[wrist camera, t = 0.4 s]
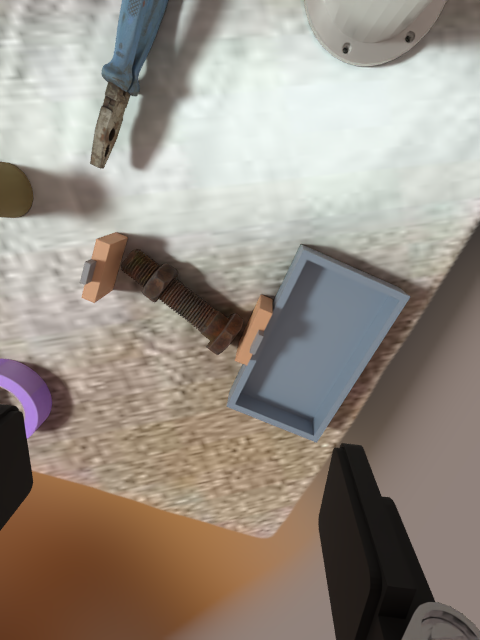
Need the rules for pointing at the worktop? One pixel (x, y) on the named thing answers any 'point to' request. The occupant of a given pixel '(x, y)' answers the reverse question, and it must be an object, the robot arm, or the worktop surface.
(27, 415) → the masking tape
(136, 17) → the pliers
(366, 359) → the tray
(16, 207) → the cork
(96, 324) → the worktop surface
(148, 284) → the bolt
